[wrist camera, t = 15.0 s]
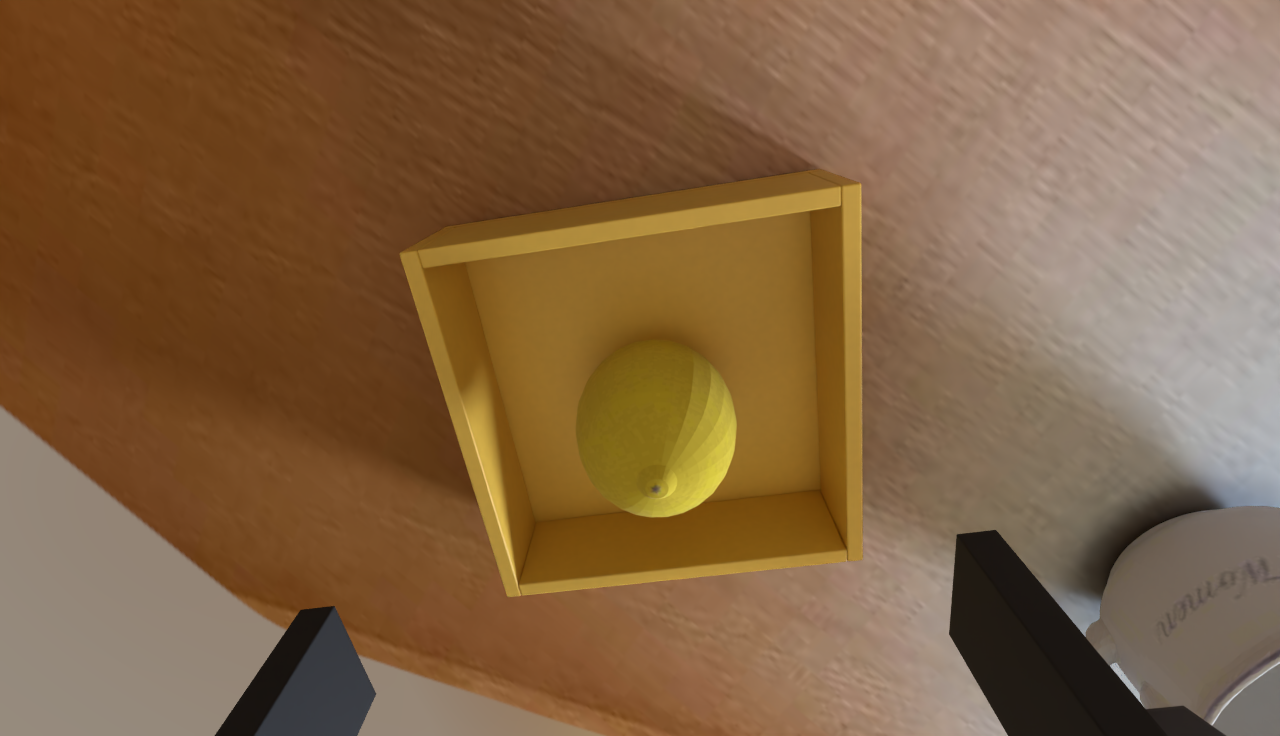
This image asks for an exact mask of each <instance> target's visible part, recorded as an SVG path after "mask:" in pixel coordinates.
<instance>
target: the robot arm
mask: <svg viewBox="0 0 1280 736" xmlns="http://www.w3.org/2000/svg"><path fill="white" fill-rule="evenodd" d="M949 635H950V636H951V638H952V640H953V642H954V643H955V645H956V647H957V648H958V650H959V652H960V654H961V655H962V657H963V659H964V660H965V662H966V664H967V666H968V667H969V669H970V671H971V673H972V674H973V676H974V678H975V679H976V681H977V683H978V685H979V686H980V688H981V690H982V691H983V693H984V695H985V697H986V698H987V700H988V702H989V703H990V705H991V707H992V709H993V710H994V712H995V714H996V716H997V717H998V719H999V721H1000V722H1001V724H1002V726H1003V728H1004V729H1005V731H1006V733H1007V734H1008V736H1226V735H1225V734H1223V733H1222V732H1220V731H1219V730H1218V729H1216V728H1215V727H1213V726H1212V725H1210V724H1209V723H1208V722H1206V721H1205V720H1203V719H1202V718H1200V717H1199V716H1198V715H1196V714H1195V713H1193V712H1192V711H1191V710H1189V709H1188V708H1186V707H1185V706H1173V707H1163V708H1152V709H1145V708H1144V707H1143V705H1142V704H1141V703H1140V702H1139V701H1138V699H1137V698H1136V697H1135V696H1134V695H1133V693H1132V692H1131V691H1130V690H1129V689H1128V688H1127V686H1126V685H1125V684H1124V683H1123V682H1122V680H1121V679H1120V678H1119V677H1118V676H1117V674H1116V673H1115V672H1114V671H1113V670H1112V668H1111V667H1110V666H1109V665H1108V664H1107V662H1106V661H1105V660H1104V659H1103V658H1102V656H1101V655H1100V654H1099V653H1098V652H1097V650H1096V649H1095V648H1094V647H1093V646H1092V644H1091V643H1090V642H1089V641H1088V640H1087V638H1086V637H1085V636H1084V635H1083V634H1082V632H1081V631H1080V630H1079V629H1078V628H1077V626H1076V625H1075V624H1074V623H1073V622H1072V620H1071V619H1070V618H1069V617H1068V616H1067V614H1066V613H1065V612H1064V611H1063V610H1062V608H1061V607H1060V606H1059V605H1058V604H1057V603H1056V601H1055V600H1054V599H1053V598H1052V597H1051V595H1050V594H1049V593H1048V592H1047V591H1046V589H1045V588H1044V587H1043V586H1042V585H1041V583H1040V582H1039V581H1038V580H1037V579H1036V577H1035V576H1034V575H1033V574H1032V573H1031V571H1030V570H1029V569H1028V568H1027V567H1026V565H1025V564H1024V563H1023V562H1022V561H1021V559H1020V558H1019V557H1018V556H1017V555H1016V553H1015V552H1014V551H1013V550H1012V549H1011V547H1010V546H1009V545H1008V544H1007V543H1006V541H1005V540H1004V539H1003V538H1002V537H1001V535H1000V534H999V533H998V532H997V531H996V530H991V531H983V532H974V533H965V534H957V539H956V552H955V565H954V578H953V591H952V604H951V617H950V630H949ZM375 695H376V693H375V691H374V688H373V686H372V684H371V682H370V680H369V678H368V676H367V674H366V672H365V669H364V668H363V665H362V663H361V661H360V659H359V657H358V655H357V653H356V650H355V648H354V646H353V644H352V642H351V640H350V638H349V636H348V634H347V632H346V629H345V627H344V625H343V623H342V621H341V619H340V617H339V615H338V613H337V611H336V608H335V606H331V607H322V608H313V609H304V610H300V612H299V613H298V615H297V616H296V617H295V619H294V620H293V622H292V623H291V625H290V626H289V628H288V629H287V631H286V632H285V634H284V635H283V636H282V638H281V639H280V641H279V642H278V644H277V645H276V647H275V649H274V650H273V651H272V653H271V654H270V656H269V657H268V658H267V660H266V661H265V663H264V664H263V666H262V667H261V669H260V670H259V672H258V673H257V675H256V676H255V678H254V679H253V680H252V682H251V683H250V685H249V686H248V688H247V689H246V691H245V692H244V694H243V695H242V697H241V698H240V699H239V701H238V702H237V704H236V705H235V707H234V708H233V710H232V711H231V713H230V714H229V716H228V717H227V719H226V720H225V722H224V723H223V724H222V726H221V727H220V729H219V730H218V732H217V733H216V735H215V736H357V735H358V733H359V730H360V728H361V726H362V724H363V721H364V720H365V717H366V715H367V713H368V711H369V709H370V706H371V704H372V702H373V700H374V697H375Z"/></svg>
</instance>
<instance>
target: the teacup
mask: <svg viewBox="0 0 1280 736" xmlns="http://www.w3.org/2000/svg"><path fill="white" fill-rule="evenodd" d="M1086 638H1087V640H1088V641H1089V642H1090V643H1091V644H1092V646H1093V647H1094V648H1095V649H1096V650H1097V652H1098V653H1099V654H1100V655H1101V656H1102V658H1103V659H1104V660H1105V661H1106V662H1107V664H1108V665H1109V666H1110V665H1111V664H1112V663H1117V664H1118V665H1119V667H1120V668H1121V670H1122V671H1123V672H1124V674H1125V675H1126V677H1127V678H1128V679H1129V680H1130V682H1131V683H1132V684H1133V686H1134V687H1135V688H1136V689H1137V691H1138V692H1139V693H1140V700H1141V702H1142V704H1143V706H1144V708H1145V709H1152V708H1163V707H1173V706H1185V707H1186V708H1188V709H1189V710H1191V711H1192V712H1193V713H1195V714H1196V715H1198V716H1199V717H1200V718H1202V719H1203V720H1205V721H1206V722H1208V723H1209V724H1210V725H1212V726H1213V727H1215V728H1216V729H1218V730H1219V731H1220V732H1222V733H1223V734H1225V735H1226V736H1280V508H1275V507H1267V506H1241V507H1232V508H1224V509H1218V510H1206V511H1199V512H1194V513H1189V514H1185V515H1182V516H1179V517H1176V518H1172V519H1170V520H1167V521H1165V522H1163V523H1160V524H1158V525H1157V526H1155V527H1153V528H1151V529H1149V530H1148V531H1146V532H1145V533H1143V534H1142V535H1141V536H1139V537H1138V538H1137V539H1135V540H1134V541H1133V542H1132V543H1131V544H1130V545H1128V546H1127V547H1126V549H1125V550H1124V551H1123V552H1122V553H1121V554H1120V556H1119V557H1118V559H1117V560H1116V562H1115V564H1114V566H1113V568H1112V569H1111V572H1110V575H1109V578H1108V581H1107V585H1106V588H1105V590H1104V593H1103V597H1102V601H1101V606H1100V619H1099V620H1098V621H1096V622H1094V623H1092V624H1091V625H1090V626H1089V627H1088V629H1087V631H1086Z"/></svg>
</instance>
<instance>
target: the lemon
mask: <svg viewBox="0 0 1280 736" xmlns="http://www.w3.org/2000/svg"><path fill="white" fill-rule="evenodd" d="M736 428H737V422H736V415H735V410H734V406H733V401H732V397H731V394H730V392H729V390H728V388H727V386H726V384H725V382H724V380H723V378H722V376H721V375H720V373H719V372H718V371H717V369H716V368H715V367H714V366H713V365H712V364H711V363H710V362H709V361H708V360H707V359H706V358H705V357H704V356H703V355H701V354H699V353H698V352H696V351H694V350H693V349H691V348H690V347H688V346H685V345H682V344H679V343H676V342H673V341H669V340H656V339H651V340H645V341H639V342H634V343H632V344H629V345H627V346H624V347H622V348H620V349H618V350H616V351H615V352H614V353H612V354H611V355H610V356H608V357H607V358H606V359H604V360H603V361H602V362H601V363H600V365H599V366H598V367H597V368H596V370H595V371H594V372H593V374H592V375H591V376H590V377H589V379H588V381H587V383H586V385H585V388H584V390H583V393H582V395H581V397H580V400H579V403H578V410H577V419H576V438H577V444H578V449H579V455H580V459H581V462H582V464H583V467H584V469H585V471H586V473H587V475H588V477H589V479H590V481H591V482H592V484H593V485H594V486H595V487H596V489H597V490H598V491H599V492H600V493H601V494H602V496H603V497H604V498H606V499H607V500H609V501H610V502H611V503H613V504H614V505H616V506H617V507H619V508H620V509H622V510H625V511H627V512H630V513H632V514H635V515H640V516H646V517H669V516H673V515H677V514H681V513H684V512H686V511H688V510H690V509H692V508H694V507H696V506H698V505H699V504H701V503H702V502H703V501H704V500H705V499H707V498H708V497H709V496H710V495H712V494H713V493H714V491H715V490H716V488H717V487H718V486H719V484H720V483H721V482H722V480H723V479H724V477H725V475H726V473H727V470H728V468H729V465H730V463H731V460H732V457H733V454H734V450H735V439H736Z"/></svg>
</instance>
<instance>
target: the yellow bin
mask: <svg viewBox="0 0 1280 736" xmlns="http://www.w3.org/2000/svg"><path fill="white" fill-rule="evenodd" d="M400 258H401V261H402V264H403V267H404V270H405V274H406V277H407V280H408V283H409V286H410V289H411V293H412V296H413V299H414V302H415V305H416V309H417V312H418V315H419V318H420V321H421V324H422V328H423V331H424V334H425V337H426V340H427V343H428V347H429V350H430V353H431V356H432V359H433V363H434V366H435V369H436V372H437V375H438V378H439V382H440V385H441V388H442V391H443V394H444V397H445V401H446V404H447V407H448V410H449V413H450V417H451V420H452V423H453V426H454V429H455V432H456V436H457V439H458V442H459V445H460V448H461V452H462V455H463V458H464V461H465V464H466V467H467V471H468V474H469V477H470V480H471V483H472V486H473V490H474V493H475V496H476V499H477V502H478V506H479V509H480V512H481V515H482V518H483V521H484V525H485V528H486V531H487V534H488V537H489V540H490V544H491V547H492V550H493V553H494V556H495V560H496V563H497V566H498V569H499V572H500V575H501V579H502V582H503V585H504V588H505V591H506V595H507V597H512V596H520V595H531V594H541V593H550V592H560V591H569V590H579V589H588V588H598V587H608V586H617V585H627V584H636V583H646V582H656V581H665V580H675V579H684V578H694V577H703V576H713V575H723V574H732V573H742V572H751V571H761V570H770V569H780V568H790V567H799V566H809V565H818V564H828V563H837V562H846V561H847V560H848V561H857V560H862V559H863V495H862V256H861V183H859V182H856V181H853V180H850V179H847V178H845V177H842V176H839V175H836V174H833V173H830V172H827V171H824V170H822V169H815V170H809V171H802V172H796V173H789V174H783V175H776V176H770V177H763V178H757V179H750V180H744V181H737V182H731V183H724V184H718V185H712V186H705V187H699V188H692V189H686V190H679V191H673V192H666V193H660V194H653V195H647V196H640V197H634V198H628V199H621V200H615V201H608V202H602V203H595V204H589V205H582V206H576V207H569V208H563V209H556V210H550V211H544V212H537V213H531V214H524V215H518V216H511V217H505V218H498V219H492V220H485V221H479V222H472V223H466V224H459V225H453V226H447V227H445V228H443V229H441V230H439V231H438V232H436V233H434V234H432V235H431V236H429V237H427V238H425V239H423V240H422V241H420V242H418V243H416V244H415V245H413V246H411V247H409V248H408V249H406V250H404V251H402V252H401V253H400ZM651 339H656V340H669V341H673V342H676V343H679V344H682V345H685V346H688V347H690V348H691V349H693V350H694V351H696V352H698V353H699V354H701V355H703V356H704V357H705V358H706V359H707V360H708V361H709V362H710V363H711V364H712V365H713V366H714V367H715V368H716V369H717V371H718V372H719V373H720V375H721V376H722V378H723V380H724V382H725V384H726V386H727V388H728V390H729V392H730V394H731V397H732V401H733V406H734V410H735V415H736V422H737V428H736V439H735V450H734V454H733V457H732V460H731V463H730V465H729V468H728V470H727V473H726V475H725V477H724V479H723V480H722V482H721V483H720V484H719V486H718V487H717V488H716V490H715V491H714V493H713V494H712V495H710V496H709V497H708V498H707V499H705V500H704V501H703V502H702V503H701V504H699V505H698V506H696V507H694V508H692V509H690V510H688V511H686V512H684V513H681V514H677V515H673V516H669V517H646V516H640V515H635V514H632V513H630V512H627V511H625V510H622V509H620V508H619V507H617V506H616V505H614V504H613V503H611V502H610V501H609V500H607V499H606V498H604V497H603V496H602V494H601V493H600V492H599V491H598V490H597V489H596V487H595V486H594V485H593V484H592V482H591V481H590V479H589V477H588V475H587V473H586V471H585V469H584V467H583V464H582V462H581V459H580V455H579V449H578V444H577V438H576V419H577V410H578V403H579V400H580V397H581V395H582V393H583V390H584V388H585V385H586V383H587V381H588V379H589V377H590V376H591V375H592V374H593V372H594V371H595V370H596V368H597V367H598V366H599V365H600V363H601V362H602V361H603V360H604V359H606V358H607V357H608V356H610V355H611V354H612V353H614V352H615V351H616V350H618V349H620V348H622V347H624V346H627V345H629V344H632V343H634V342H639V341H645V340H651Z"/></svg>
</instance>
